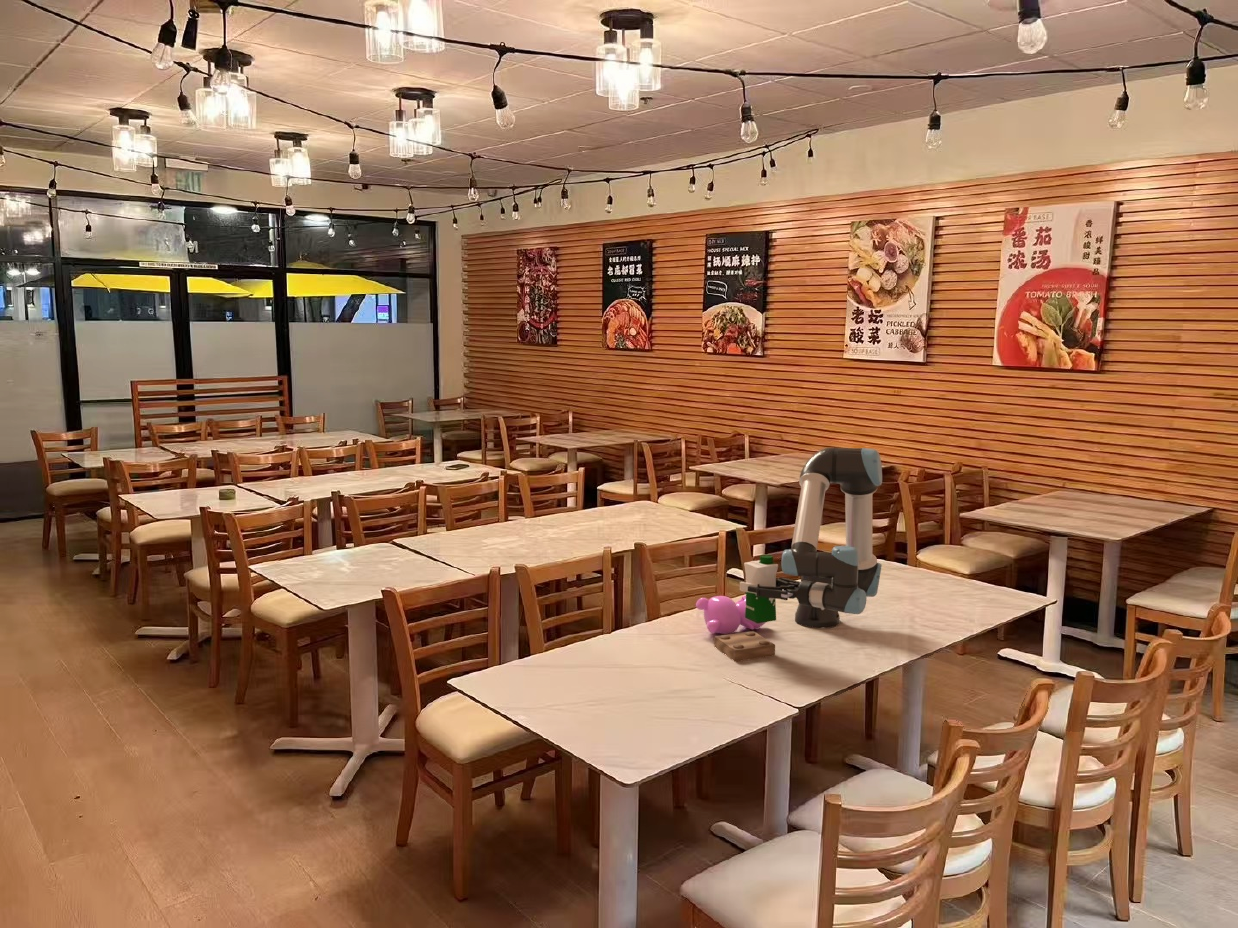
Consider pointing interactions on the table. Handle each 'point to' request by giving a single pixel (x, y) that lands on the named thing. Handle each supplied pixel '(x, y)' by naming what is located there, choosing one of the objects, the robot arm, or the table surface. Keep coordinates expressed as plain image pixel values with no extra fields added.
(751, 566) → the soya milk
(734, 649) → the base brick
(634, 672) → the table surface
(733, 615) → the toy character
